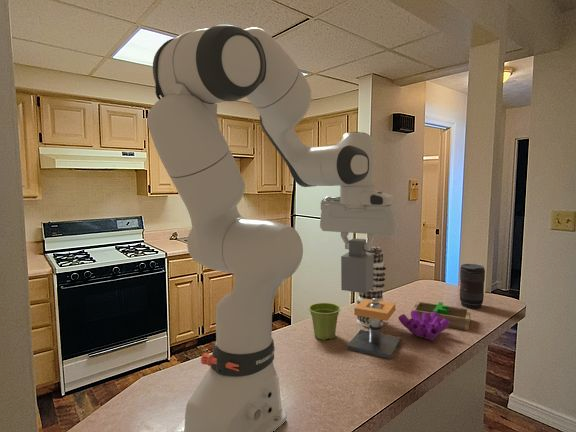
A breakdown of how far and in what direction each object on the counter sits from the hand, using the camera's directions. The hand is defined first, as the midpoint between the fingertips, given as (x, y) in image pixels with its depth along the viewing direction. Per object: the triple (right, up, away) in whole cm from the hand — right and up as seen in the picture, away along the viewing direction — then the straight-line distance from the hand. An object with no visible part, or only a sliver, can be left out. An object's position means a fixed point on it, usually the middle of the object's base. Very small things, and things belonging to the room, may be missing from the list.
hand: (357, 249), depth 96 cm
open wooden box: (+33, -26, +25) cm, 49 cm away
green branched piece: (+33, -26, +25) cm, 49 cm away
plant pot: (-7, -27, +14) cm, 31 cm away
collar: (+6, -18, +6) cm, 20 cm away
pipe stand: (+6, -28, +7) cm, 29 cm away
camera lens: (+49, -25, +39) cm, 67 cm away
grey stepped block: (0, -10, +1) cm, 10 cm away
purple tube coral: (+23, -27, +14) cm, 38 cm away
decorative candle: (+9, -26, +24) cm, 37 cm away
